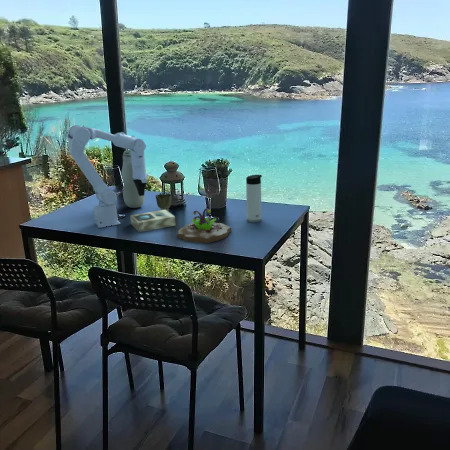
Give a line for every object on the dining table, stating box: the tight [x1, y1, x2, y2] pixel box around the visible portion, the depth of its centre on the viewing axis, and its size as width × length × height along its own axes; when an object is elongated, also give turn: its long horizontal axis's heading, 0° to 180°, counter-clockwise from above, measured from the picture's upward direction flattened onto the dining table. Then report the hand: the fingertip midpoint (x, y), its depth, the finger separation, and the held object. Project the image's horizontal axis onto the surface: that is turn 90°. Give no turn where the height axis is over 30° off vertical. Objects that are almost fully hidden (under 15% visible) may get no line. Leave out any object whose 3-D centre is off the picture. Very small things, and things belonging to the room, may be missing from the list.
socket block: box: [129, 209, 176, 232], centre depth 208 cm, size 16×12×4 cm
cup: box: [154, 192, 173, 212], centre depth 225 cm, size 8×7×8 cm
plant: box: [177, 208, 232, 244], centre depth 194 cm, size 20×20×11 cm
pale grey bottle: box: [120, 149, 146, 209], centre depth 230 cm, size 10×10×28 cm
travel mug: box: [245, 174, 263, 223], centre depth 206 cm, size 6×7×20 cm
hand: (141, 195), depth 217 cm, fingers closed
